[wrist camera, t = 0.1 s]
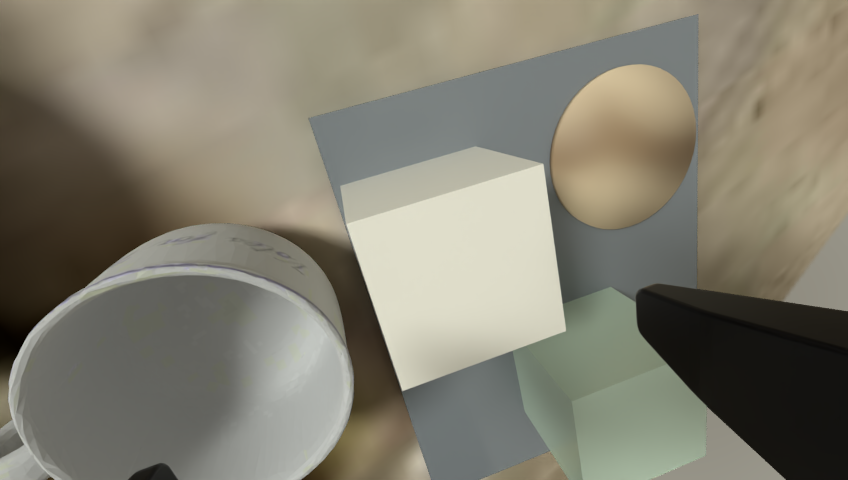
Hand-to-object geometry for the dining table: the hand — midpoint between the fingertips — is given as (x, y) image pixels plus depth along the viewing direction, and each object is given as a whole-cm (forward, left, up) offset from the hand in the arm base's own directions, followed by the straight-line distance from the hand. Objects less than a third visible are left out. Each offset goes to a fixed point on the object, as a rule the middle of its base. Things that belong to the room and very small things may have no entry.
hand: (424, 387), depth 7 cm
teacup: (-3, +9, -15) cm, 18 cm away
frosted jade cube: (-13, -10, -14) cm, 22 cm away
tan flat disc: (-1, -15, -14) cm, 20 cm away
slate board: (-8, -9, -15) cm, 19 cm away
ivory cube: (-2, -3, -14) cm, 14 cm away
